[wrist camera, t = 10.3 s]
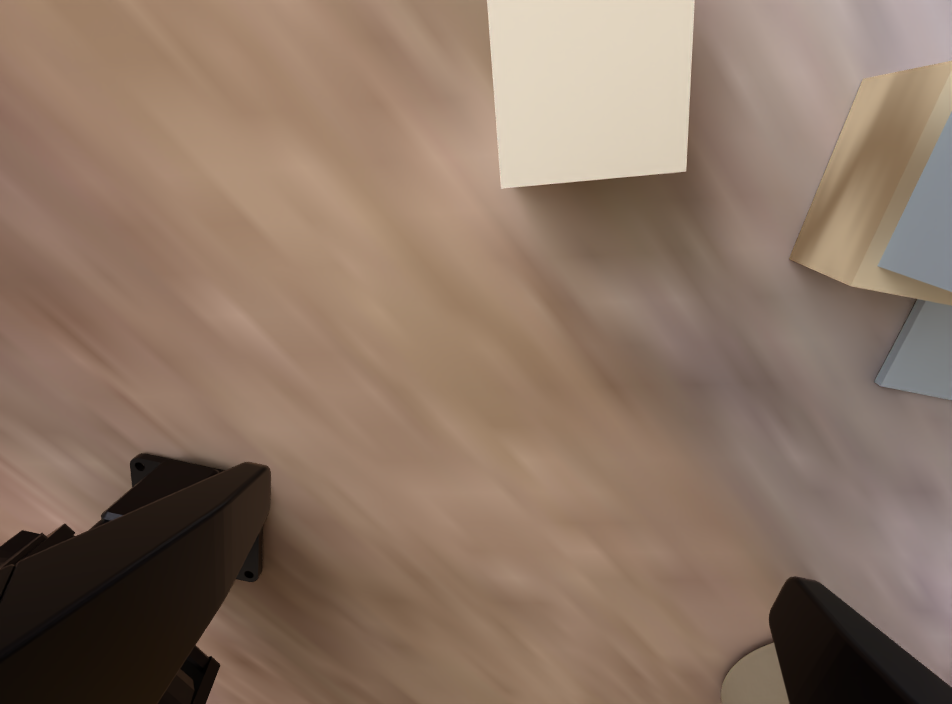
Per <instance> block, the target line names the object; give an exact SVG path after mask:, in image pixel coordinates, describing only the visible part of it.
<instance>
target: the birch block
mask: <svg viewBox="0 0 952 704" xmlns="http://www.w3.org/2000/svg"><path fill="white" fill-rule="evenodd" d="M951 112H952V61H948V62H943V63H939V64H934V65H929V66H924V67H919V68H914V69H909V70H904V71H899V72H894V73H890V74H885V75H880V76H875V77H870V78H865V79H863V80H862V83H861V85H860V88H859V90H858V92H857V95H856V97H855V100H854V102H853V105H852V107H851V109H850V112H849V114H848V117H847V119H846V122H845V124H844V126H843V129H842V131H841V134H840V136H839V139H838V141H837V143H836V146H835V148H834V151H833V153H832V156H831V158H830V160H829V163H828V165H827V168H826V170H825V173H824V175H823V177H822V180H821V182H820V185H819V187H818V190H817V192H816V194H815V197H814V199H813V202H812V204H811V207H810V209H809V212H808V214H807V216H806V219H805V221H804V224H803V226H802V229H801V231H800V233H799V236H798V238H797V241H796V243H795V246H794V248H793V250H792V253H791V255H790V258H789V259H790V260H792V261H794V262H797V263H799V264H801V265H804V266H806V267H808V268H810V269H813V270H815V271H817V272H819V273H822V274H824V275H826V276H829V277H831V278H833V279H835V280H838V281H840V282H842V283H844V284H847V285H849V286H852V287H857V288H863V289H868V290H873V291H878V292H883V293H889V294H894V295H899V296H904V297H909V298H915V299H920V300H925V301H930V302H935V303H940V304H946V305H951V306H952V292H950V291H948V290H945V289H942V288H939V287H936V286H933V285H930V284H927V283H925V282H922V281H919V280H916V279H913V278H910V277H907V276H904V275H901V274H899V273H896V272H893V271H890V270H887V269H884V268H881V267H878V264H879V262H880V260H881V258H882V255H883V253H884V251H885V249H886V247H887V245H888V243H889V241H890V239H891V237H892V235H893V233H894V230H895V228H896V226H897V224H898V222H899V220H900V218H901V216H902V214H903V212H904V210H905V208H906V205H907V203H908V201H909V199H910V197H911V195H912V193H913V191H914V189H915V187H916V185H917V182H918V180H919V178H920V176H921V174H922V172H923V170H924V168H925V166H926V164H927V162H928V160H929V157H930V155H931V153H932V151H933V149H934V147H935V145H936V143H937V141H938V139H939V137H940V135H941V132H942V130H943V128H944V126H945V124H946V122H947V120H948V118H949V116H950V114H951Z"/></svg>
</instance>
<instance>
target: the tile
mask: <svg viewBox="0 0 952 704" xmlns="http://www.w3.org/2000/svg"><path fill="white" fill-rule="evenodd" d="M874 382H875V383H877V384H878V385H880V386H882V387H887V388H892V389H897V390H902V391H907V392H912V393H917V394H923V395H928V396H933V397H938V398H943V399H948V400H952V306H951V305H946V304H940V303H935V302H930V301H925V300H920V299H917V301H916V303H915V305H914V307H913V309H912V311H911V313H910V315H909V316H908V318H907V320H906V322H905V324H904V326H903V328H902V330H901V332H900V334H899V335H898V337H897V339H896V341H895V343H894V345H893V347H892V349H891V351H890V353H889V355H888V356H887V358H886V360H885V362H884V364H883V366H882V368H881V370H880V372H879V374H878V376H877V377H876V379H875V381H874Z"/></svg>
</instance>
